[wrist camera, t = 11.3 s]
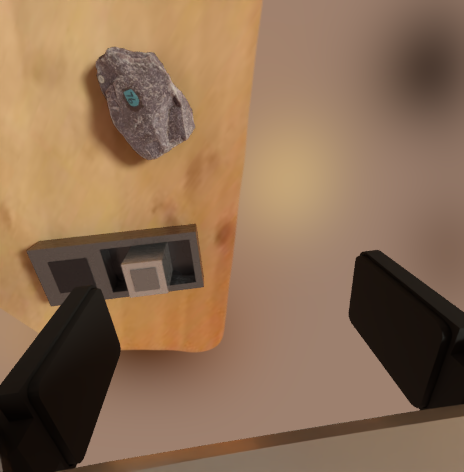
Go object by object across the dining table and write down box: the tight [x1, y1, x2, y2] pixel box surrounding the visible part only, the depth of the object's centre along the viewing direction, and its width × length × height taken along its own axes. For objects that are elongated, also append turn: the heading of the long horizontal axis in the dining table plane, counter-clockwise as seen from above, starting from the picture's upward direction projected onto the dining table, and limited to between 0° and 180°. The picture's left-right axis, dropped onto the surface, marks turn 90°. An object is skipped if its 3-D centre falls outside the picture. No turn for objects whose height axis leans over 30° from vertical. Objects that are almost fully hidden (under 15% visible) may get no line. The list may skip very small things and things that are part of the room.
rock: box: [96, 47, 195, 160], centre depth 30 cm, size 8×11×4 cm
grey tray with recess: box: [27, 224, 204, 306], centre depth 38 cm, size 9×22×3 cm, turn 95°
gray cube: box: [121, 242, 173, 297], centre depth 37 cm, size 5×5×6 cm
